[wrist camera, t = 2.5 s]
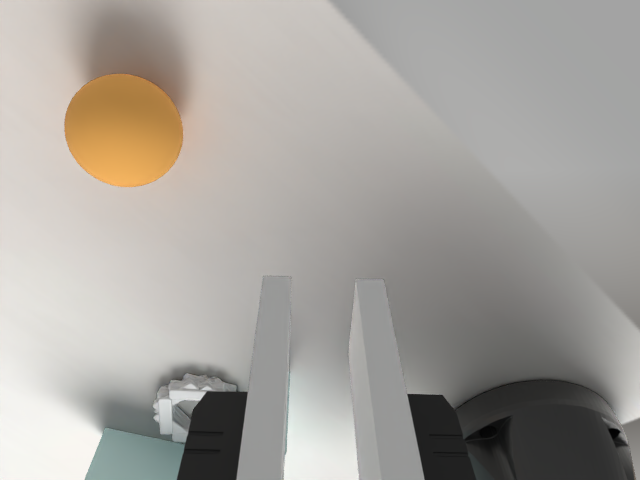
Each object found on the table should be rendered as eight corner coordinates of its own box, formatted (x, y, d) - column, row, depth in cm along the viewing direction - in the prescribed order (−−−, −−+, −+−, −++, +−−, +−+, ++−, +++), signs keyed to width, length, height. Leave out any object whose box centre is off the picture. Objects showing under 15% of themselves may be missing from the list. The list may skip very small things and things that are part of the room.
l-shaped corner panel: (290, 365, 39) (286, 452, 33) (246, 458, 45) (235, 547, 39) (130, 324, 37) (93, 409, 30) (106, 429, 43) (70, 518, 36)
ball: (187, 64, 27) (162, 95, 22) (196, 162, 30) (174, 208, 25) (79, 59, 26) (30, 89, 22) (98, 158, 29) (58, 204, 25)
